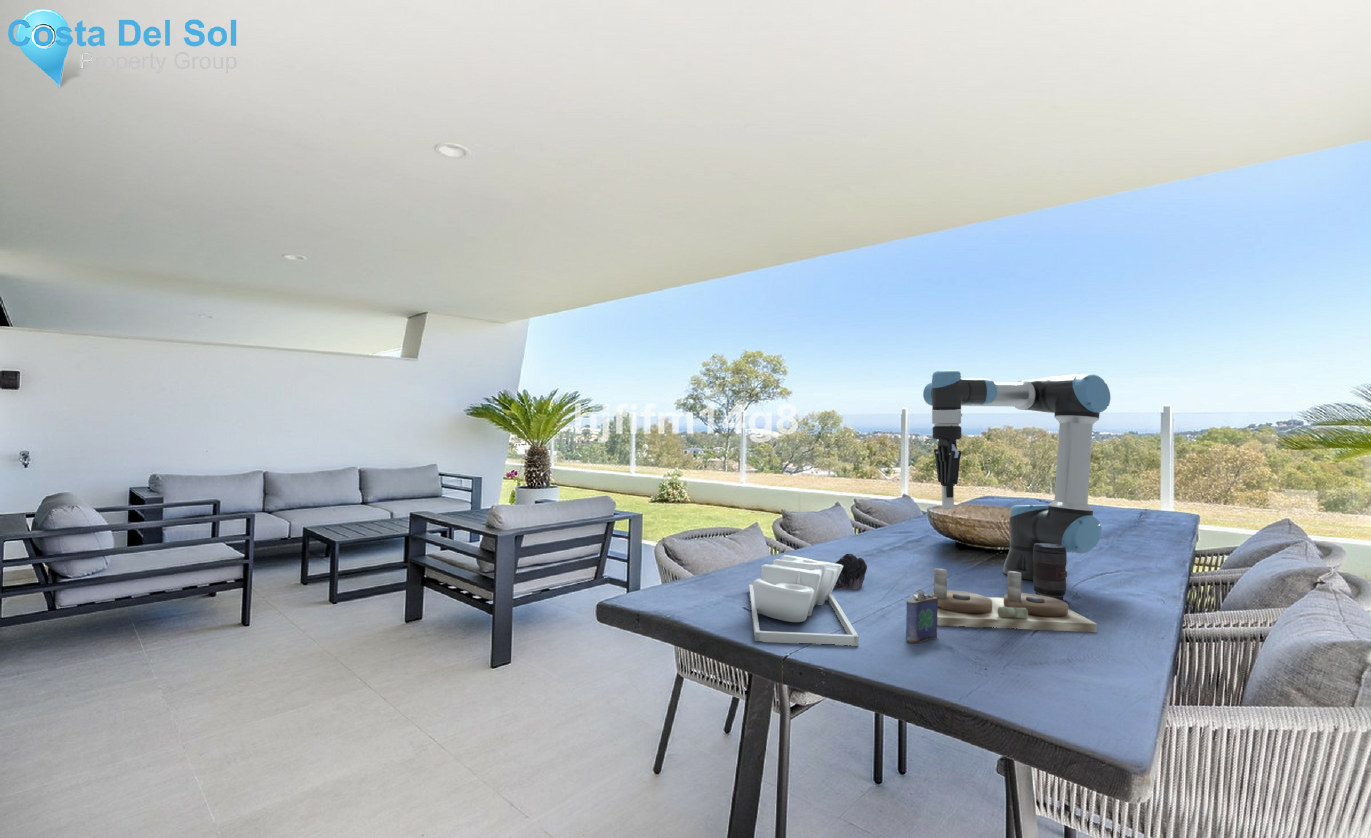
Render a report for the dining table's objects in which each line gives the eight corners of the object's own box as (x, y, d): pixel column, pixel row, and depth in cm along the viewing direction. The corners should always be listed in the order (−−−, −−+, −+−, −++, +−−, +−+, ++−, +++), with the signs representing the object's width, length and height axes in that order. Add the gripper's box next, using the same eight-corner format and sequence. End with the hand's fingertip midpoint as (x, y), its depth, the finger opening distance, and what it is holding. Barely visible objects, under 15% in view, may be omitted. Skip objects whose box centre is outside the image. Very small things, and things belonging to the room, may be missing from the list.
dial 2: (992, 599, 159) (992, 566, 159) (1043, 599, 160) (1043, 566, 160) (1025, 616, 145) (1026, 579, 145) (1081, 616, 146) (1082, 579, 146)
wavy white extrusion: (791, 586, 175) (793, 549, 175) (848, 597, 166) (850, 558, 166) (738, 615, 144) (740, 571, 145) (804, 630, 136) (806, 583, 136)
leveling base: (1051, 607, 162) (1051, 590, 162) (1096, 632, 142) (1096, 613, 142) (912, 601, 164) (913, 585, 164) (938, 625, 144) (938, 607, 144)
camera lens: (1057, 595, 174) (1057, 542, 174) (1072, 603, 166) (1072, 548, 166) (1027, 593, 175) (1027, 541, 175) (1041, 601, 167) (1041, 547, 167)
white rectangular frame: (827, 594, 170) (827, 587, 170) (858, 646, 129) (858, 636, 129) (749, 591, 172) (749, 584, 172) (755, 641, 131) (755, 632, 131)
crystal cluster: (809, 585, 183) (810, 553, 182) (836, 575, 192) (837, 544, 191) (847, 598, 173) (848, 565, 172) (874, 587, 181) (875, 555, 180)
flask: (912, 644, 131) (913, 594, 131) (901, 640, 134) (902, 591, 134) (940, 637, 136) (940, 589, 136) (928, 633, 138) (929, 586, 139)
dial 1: (921, 597, 160) (922, 563, 160) (973, 597, 161) (973, 564, 161) (947, 613, 146) (948, 576, 146) (1004, 613, 147) (1004, 576, 147)
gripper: (970, 425, 165) (972, 512, 165) (950, 425, 178) (951, 505, 178) (943, 425, 165) (944, 512, 165) (924, 425, 178) (925, 505, 178)
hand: (948, 508), depth 171 cm, fingers closed
